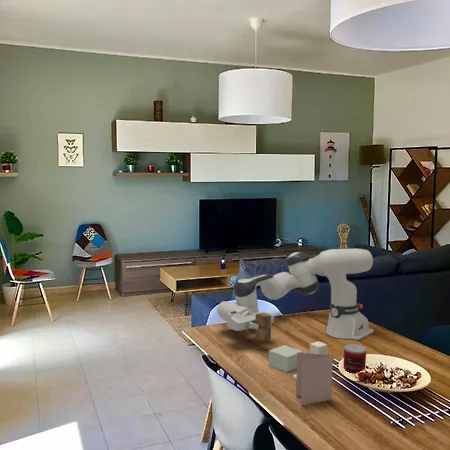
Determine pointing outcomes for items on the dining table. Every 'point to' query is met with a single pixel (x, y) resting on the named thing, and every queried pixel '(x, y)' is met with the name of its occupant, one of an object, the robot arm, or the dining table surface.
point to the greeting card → (314, 377)
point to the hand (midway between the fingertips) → (264, 325)
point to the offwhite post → (318, 348)
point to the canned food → (354, 358)
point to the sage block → (284, 358)
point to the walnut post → (263, 326)
